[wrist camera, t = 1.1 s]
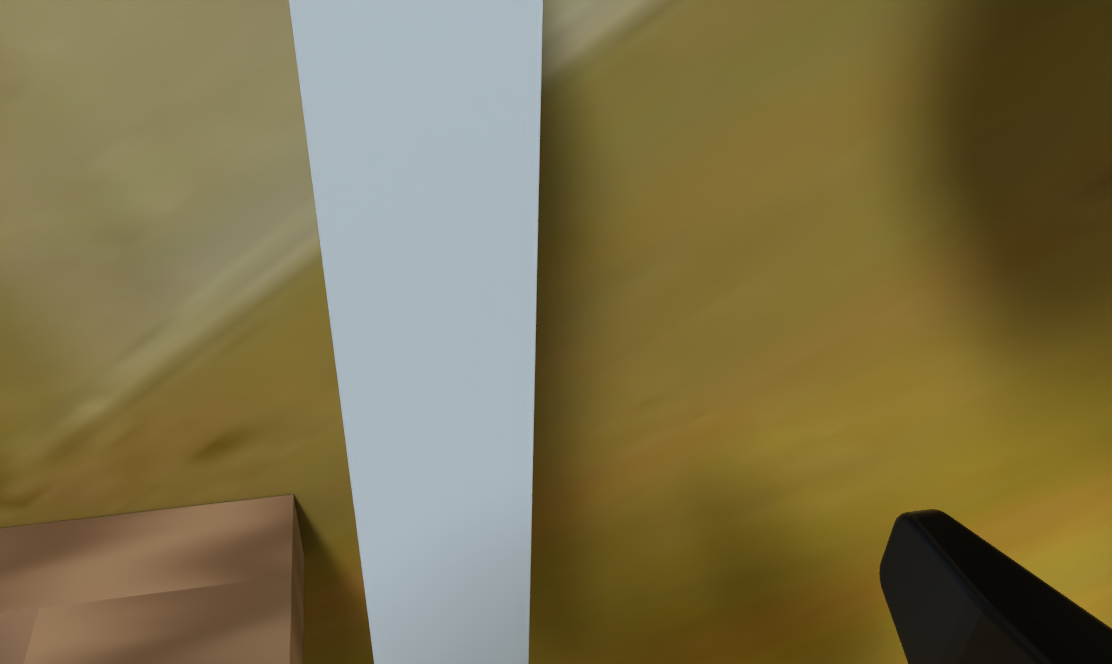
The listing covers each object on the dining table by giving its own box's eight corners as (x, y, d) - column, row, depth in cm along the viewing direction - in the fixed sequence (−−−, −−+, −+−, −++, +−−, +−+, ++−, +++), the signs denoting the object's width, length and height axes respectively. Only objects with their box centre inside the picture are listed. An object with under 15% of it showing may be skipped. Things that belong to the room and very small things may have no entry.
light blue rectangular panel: (280, -361, 14) (248, -315, 7) (434, -357, 15) (549, -307, 8) (363, 393, 23) (386, 761, 15) (460, 383, 23) (527, 738, 16)
